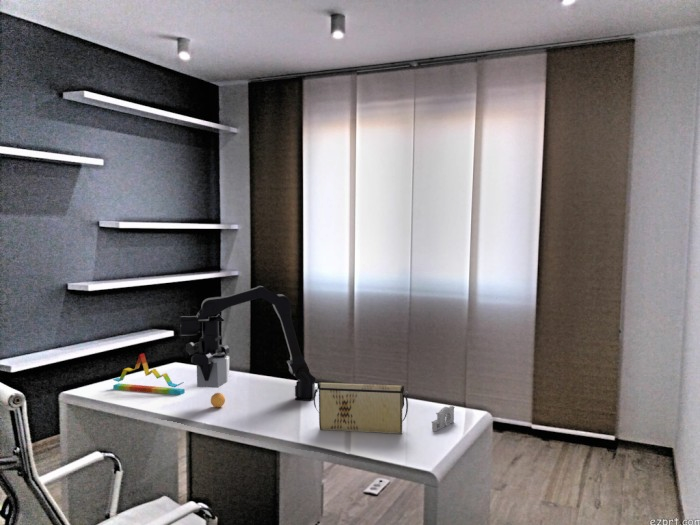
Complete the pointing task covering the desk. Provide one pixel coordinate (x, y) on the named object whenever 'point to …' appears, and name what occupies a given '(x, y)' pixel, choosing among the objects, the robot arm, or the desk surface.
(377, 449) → the desk surface
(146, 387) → the chart
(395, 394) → the clutch purse
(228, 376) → the white cup
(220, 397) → the ball
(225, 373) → the matte grey cube
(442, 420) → the garden wall model
